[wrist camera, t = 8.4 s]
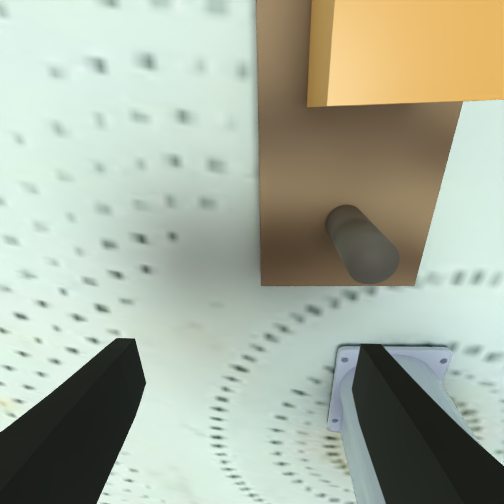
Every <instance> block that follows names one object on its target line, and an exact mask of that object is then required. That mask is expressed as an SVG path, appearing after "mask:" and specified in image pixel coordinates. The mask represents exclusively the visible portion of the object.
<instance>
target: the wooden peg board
mask: <svg viewBox="0 0 504 504" xmlns="http://www.w3.org/2000/svg"><path fill="white" fill-rule="evenodd" d="M256 6H257V65H258V124H259V184H260V243H261V286H414V285H415V281H416V277H417V273H418V270H419V266H420V262H421V258H422V254H423V251H424V247H425V243H426V239H427V236H428V232H429V228H430V224H431V220H432V217H433V213H434V209H435V205H436V202H437V198H438V194H439V190H440V186H441V183H442V179H443V175H444V171H445V168H446V164H447V160H448V156H449V152H450V149H451V145H452V141H453V137H454V134H455V130H456V126H457V122H458V118H459V115H460V111H461V107H462V103H463V101H460V102H438V103H412V104H386V105H359V106H332V107H307V92H308V71H309V49H310V28H311V7H312V0H256Z"/></svg>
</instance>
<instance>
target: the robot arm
mask: <svg viewBox="0 0 504 504" xmlns="http://www.w3.org/2000/svg"><path fill="white" fill-rule="evenodd" d="M452 355H453V353H452V351H451V350H450V349H449V348H447V347H386V346H382V345H381V344H361V346H342V347H340V348H339V349H338V351H337V359H336V366H335V373H334V380H333V387H332V394H331V401H330V408H329V416H328V423H327V425H328V429H329V430H330V431H339V432H341V437H342V441H343V445H344V450H345V454H346V458H347V462H348V467H349V471H350V475H351V479H352V484H353V488H354V492H355V496H356V501H357V504H504V466H503V465H502V464H501V463H500V462H499V461H497V460H496V459H495V458H494V457H493V456H492V455H491V454H490V453H488V452H487V451H486V450H485V449H484V448H483V447H482V446H481V444H480V443H479V441H478V440H477V438H476V437H475V435H474V434H473V432H472V430H471V429H470V427H469V426H468V424H467V423H466V421H465V420H464V418H463V417H462V415H461V413H460V412H459V410H458V409H457V407H456V406H455V404H454V403H453V401H452V400H451V398H450V396H449V395H448V393H447V392H446V390H445V389H444V387H443V386H442V381H443V379H444V376H445V374H446V371H447V368H448V366H449V363H450V361H451V358H452ZM344 357H346V358H344ZM145 385H146V381H145V377H144V373H143V369H142V365H141V361H140V357H139V353H138V349H137V345H136V341H135V339H130V338H116V339H115V340H114V341H113V342H111V343H110V344H109V345H108V346H106V347H105V348H104V349H103V350H102V351H100V352H99V353H98V354H97V355H96V356H95V357H93V358H92V359H91V360H90V361H89V362H88V363H86V364H85V365H84V366H83V367H82V368H81V369H79V370H78V371H77V372H76V373H75V374H73V375H72V376H71V377H70V378H69V379H67V380H66V381H65V382H64V383H63V384H61V385H60V386H59V387H58V388H57V389H55V390H54V391H53V392H52V393H51V394H49V395H48V396H47V397H45V398H44V399H43V400H42V401H40V402H39V403H38V404H36V405H35V406H34V407H33V408H31V409H30V410H29V411H27V412H26V413H25V414H24V415H22V416H21V417H20V418H19V419H17V420H16V421H15V422H13V423H12V424H11V425H10V426H8V427H7V428H6V429H4V430H3V431H1V432H0V504H97V501H98V499H99V497H100V494H101V492H102V490H103V488H104V486H105V483H106V481H107V479H108V477H109V474H110V472H111V470H112V468H113V466H114V463H115V461H116V459H117V457H118V454H119V452H120V450H121V448H122V446H123V443H124V441H125V439H126V437H127V434H128V432H129V430H130V427H131V425H132V423H133V421H134V418H135V416H136V413H137V410H138V407H139V404H140V401H141V398H142V395H143V391H144V388H145Z"/></svg>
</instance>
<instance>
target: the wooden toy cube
mask: <svg viewBox="0 0 504 504" xmlns="http://www.w3.org/2000/svg"><path fill="white" fill-rule="evenodd" d="M482 100H504V0H312V7H311V28H310V49H309V71H308V92H307V107H332V106H359V105H386V104H412V103H438V102H460V101H482Z"/></svg>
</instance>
